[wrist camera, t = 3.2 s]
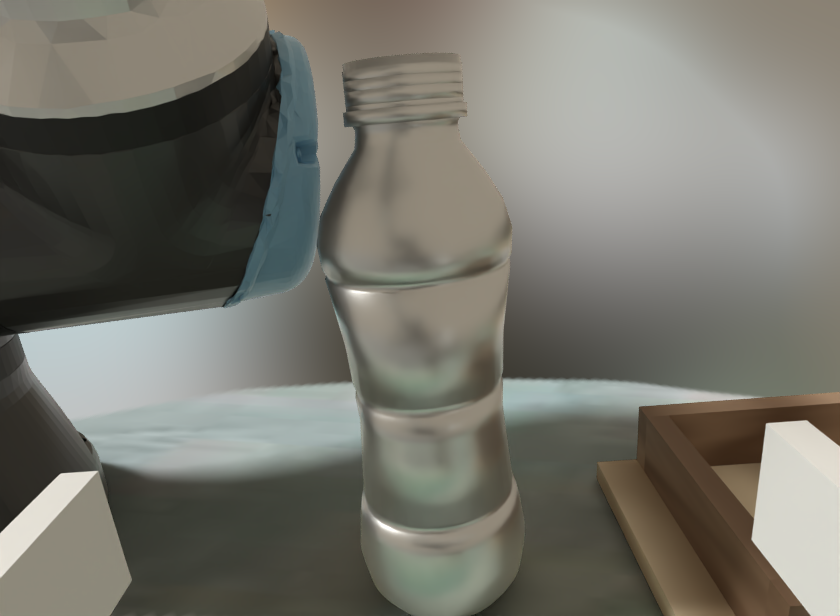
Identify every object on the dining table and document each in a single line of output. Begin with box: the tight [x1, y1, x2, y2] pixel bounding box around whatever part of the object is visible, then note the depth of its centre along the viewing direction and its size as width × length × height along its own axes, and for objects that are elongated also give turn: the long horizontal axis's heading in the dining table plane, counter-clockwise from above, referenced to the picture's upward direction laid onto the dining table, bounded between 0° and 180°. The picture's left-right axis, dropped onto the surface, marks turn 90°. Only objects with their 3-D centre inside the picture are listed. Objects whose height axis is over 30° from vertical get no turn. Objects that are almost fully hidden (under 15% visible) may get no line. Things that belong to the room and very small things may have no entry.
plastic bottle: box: [316, 53, 526, 616], centre depth 21 cm, size 6×7×20 cm
